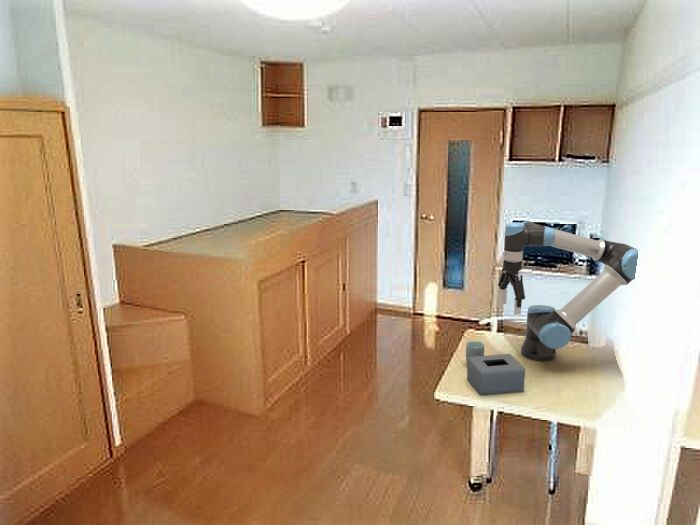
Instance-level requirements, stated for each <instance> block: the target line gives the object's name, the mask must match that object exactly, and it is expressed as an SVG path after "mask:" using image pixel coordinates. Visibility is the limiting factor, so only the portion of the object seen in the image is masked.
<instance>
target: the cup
mask: <svg viewBox="0 0 700 525" xmlns="http://www.w3.org/2000/svg"><path fill="white" fill-rule="evenodd" d="M476 356H485V344H484V343H483V342H481V341H477V340H471V341H470V340H469V341H467V342H466V344H465V360H466V364H467V365H468V357H476Z"/></svg>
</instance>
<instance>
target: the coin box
mask: <svg viewBox="0 0 700 525" xmlns="http://www.w3.org/2000/svg"><path fill="white" fill-rule="evenodd" d="M466 368H467V370H466V371H467V372H466V380H467V382H469V384H470V385H471V386H472V387H473V389H474V391H476V393H477V394H478V396H481V397H482V396H491V395H493V396H494V395H501V394H502V395H504V394H513V393H514V394H515V393H524V390H525V377H526V376H525V375H526V367H524V366H523V365H522V364H521V363H520V362H519V361H518V360H517V359H516V358H514V356H512V355H511V354H510V353H502V354H491V355H489V354H488V355H484V356H476V357H468V364H467V367H466Z"/></svg>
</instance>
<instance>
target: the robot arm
mask: <svg viewBox="0 0 700 525" xmlns="http://www.w3.org/2000/svg"><path fill="white" fill-rule="evenodd" d="M549 246H550V247H553V248H557V249H559V250H560V249H561V250H562V251H563V250H565V251H567V252H571V253H574V254H575V253H576V254H579V255H582V256H585V257H590V258H591V259H592V260H593V261H595V262H598V263H601V264H603V265H604V266H603V268H604V269H603V271H602V272H600V274H599V275H598V276H596V277H595V278H594V279H592V281H591V282H590V283H588V285H586V286H585V287H584V288H583V289H581V291H579V293H577V294H576V295H575V296H574V297H573V298H572V299H571V300H569V301H568V302H567V303H566V304H565V305H564V306H563V307H562V308H561V309H555V307H553V306H550V305H545V304H544V305H543V304H540V305H539V304H536V305H534V304H533V305H530V306H528V308H527V312H526V330H525V338H524V340H523V343H522V345H521V348H520V355H522V356H523V357H525V358H527V359H530V360H534V361H539V362H547V361H552V360H555V358H556V357H557V356H556V355H557V351H556V350H558V349H562V348H564V347H565V346H567V345H568V344H569V343H570V342H571V337H572V334H573V333H574V332H575V331H576V330H577V329H576V328H577V327H576V325H577V324H579V322H580V321H582V320H583V319H584V318H585V317H586V316H588V314H590V313H591V312H592V311H593V310H594V309H595V308H596V307H598V306H599V305H600V304H601V303H602V302H603V301H604V300H606V299H607V298H608V297H609V296H610V295H611V294H612V293H613V292H615V291H616V290H617V289H618V288H619V287H621V286H627V285H628V284H630V283H631V282H632V281H634V279H635V273H636V266H637V259H638V250H637V249H638V248H636V247H633V246H631V245H628V244H627V243H620V242H616V241H615V242H614V241H609V240H605V239H601V238H600V239H598V240H596V239H593V238H589V237H586V236H582V235H578V234H573V233H570V232H567V231H563V230H559V229H556V228H553V227H549V226H546V225H541V224H538V223H534V222H532V221H530V220H529V221H527V220H525V221H523V222H517V221H515V222H513V221H512V222H507V223H506V224H505V229H504V248H503V249H504V250H503V253H502V254H503V261H502V268H501V273H500V277H499V281H498V284H497V286H498V287H499V290H500V293H499V305H507V301H508V300H507V299H508V298H507V297H508V286H509V284H510V285H511V286H512V288H513V294H514V296H515V298H514V304H513V315H516V316H517V315H522V302H523V300H526V295H525V289H524V282H523V280H524V279H523V277H524V276H523V275H522V274H519V272H520V271H522V269H523V261H522V260H524V259H523V258H524V247H549Z"/></svg>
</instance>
